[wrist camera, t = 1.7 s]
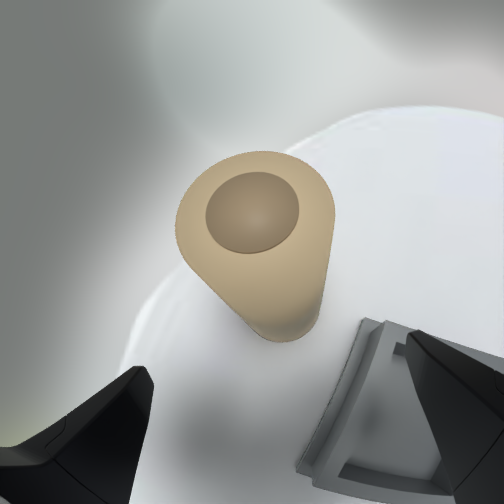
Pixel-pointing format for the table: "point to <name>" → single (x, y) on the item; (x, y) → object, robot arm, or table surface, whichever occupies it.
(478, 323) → the table surface
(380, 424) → the square tray
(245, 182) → the paper roll
